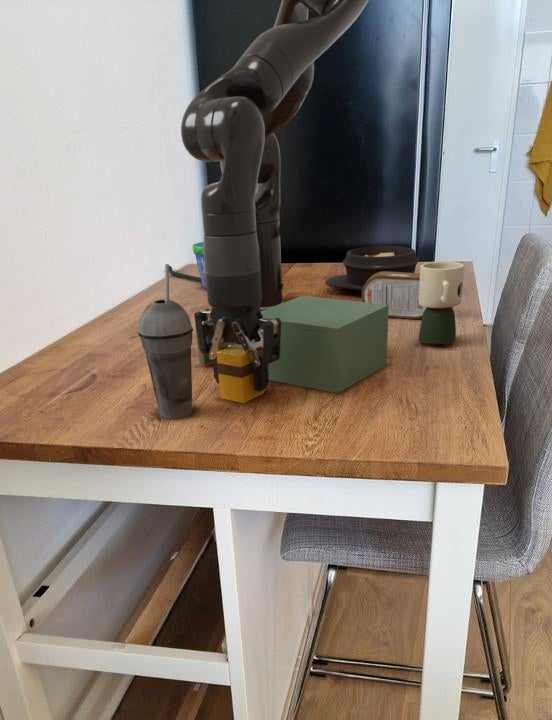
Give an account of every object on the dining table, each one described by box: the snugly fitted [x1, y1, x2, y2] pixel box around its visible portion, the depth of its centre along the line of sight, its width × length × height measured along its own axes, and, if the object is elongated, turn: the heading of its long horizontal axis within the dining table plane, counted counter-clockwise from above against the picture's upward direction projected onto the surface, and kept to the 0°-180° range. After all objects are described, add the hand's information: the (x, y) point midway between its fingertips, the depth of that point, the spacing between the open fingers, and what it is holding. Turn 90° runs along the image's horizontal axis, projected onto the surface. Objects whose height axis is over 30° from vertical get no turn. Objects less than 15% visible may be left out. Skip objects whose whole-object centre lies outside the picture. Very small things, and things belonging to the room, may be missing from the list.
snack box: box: [216, 344, 265, 404], centre depth 103 cm, size 5×4×7 cm
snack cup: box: [192, 241, 207, 290], centre depth 169 cm, size 16×10×10 cm
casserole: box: [324, 245, 420, 294], centre depth 159 cm, size 25×19×8 cm
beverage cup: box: [137, 263, 194, 420], centre depth 95 cm, size 7×7×20 cm
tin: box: [361, 271, 427, 320], centre depth 137 cm, size 15×3×8 cm, turn 65°
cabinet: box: [250, 295, 389, 394], centre depth 110 cm, size 16×15×10 cm
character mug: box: [418, 261, 465, 347], centre depth 119 cm, size 11×7×13 cm, turn 179°
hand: (241, 385), depth 104 cm, fingers open, 6 cm apart
